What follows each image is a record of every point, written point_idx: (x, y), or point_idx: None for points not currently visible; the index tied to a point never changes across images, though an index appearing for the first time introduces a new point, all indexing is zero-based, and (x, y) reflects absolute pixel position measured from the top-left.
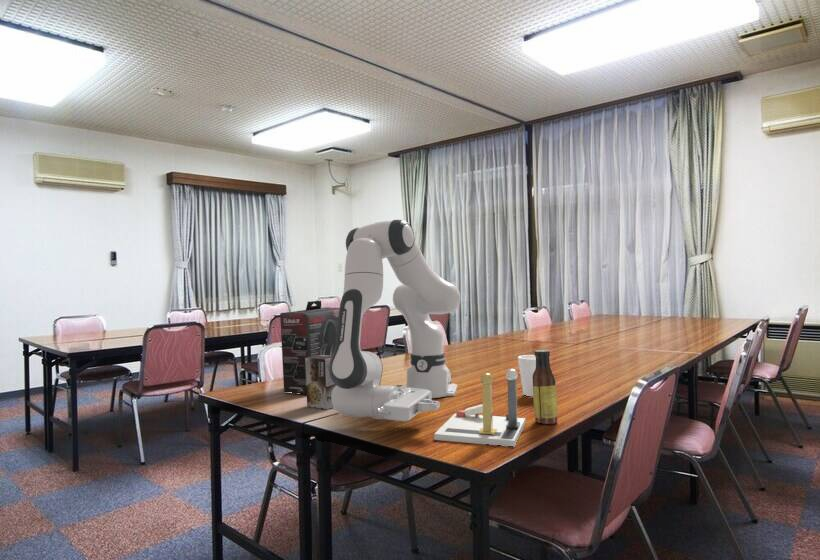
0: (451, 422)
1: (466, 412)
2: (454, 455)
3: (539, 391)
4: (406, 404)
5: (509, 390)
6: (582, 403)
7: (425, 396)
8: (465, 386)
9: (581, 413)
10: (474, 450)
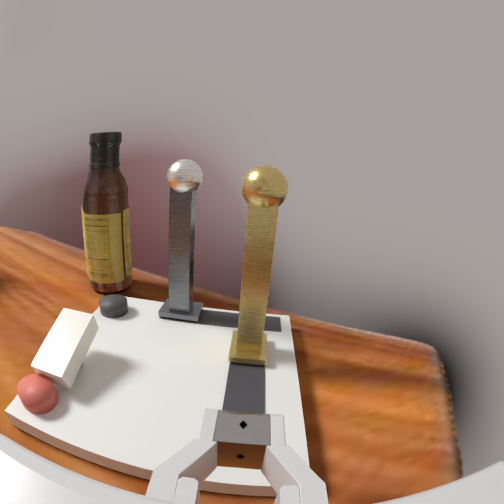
0: (124, 442)
1: (67, 375)
2: (404, 404)
3: (121, 222)
4: (486, 497)
5: (192, 221)
6: (31, 250)
7: (97, 482)
8: None
9: (77, 256)
10: (347, 380)
